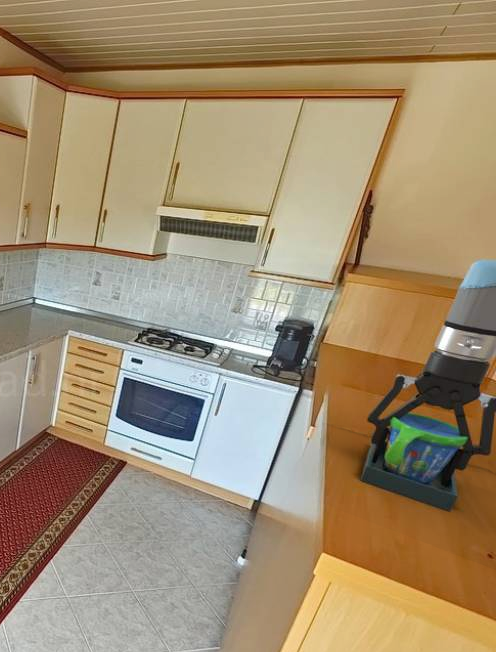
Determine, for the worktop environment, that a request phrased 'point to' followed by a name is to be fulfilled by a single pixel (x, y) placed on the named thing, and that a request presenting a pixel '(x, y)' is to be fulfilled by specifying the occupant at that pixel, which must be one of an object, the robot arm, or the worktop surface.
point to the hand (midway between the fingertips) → (407, 471)
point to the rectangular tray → (409, 483)
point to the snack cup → (420, 447)
